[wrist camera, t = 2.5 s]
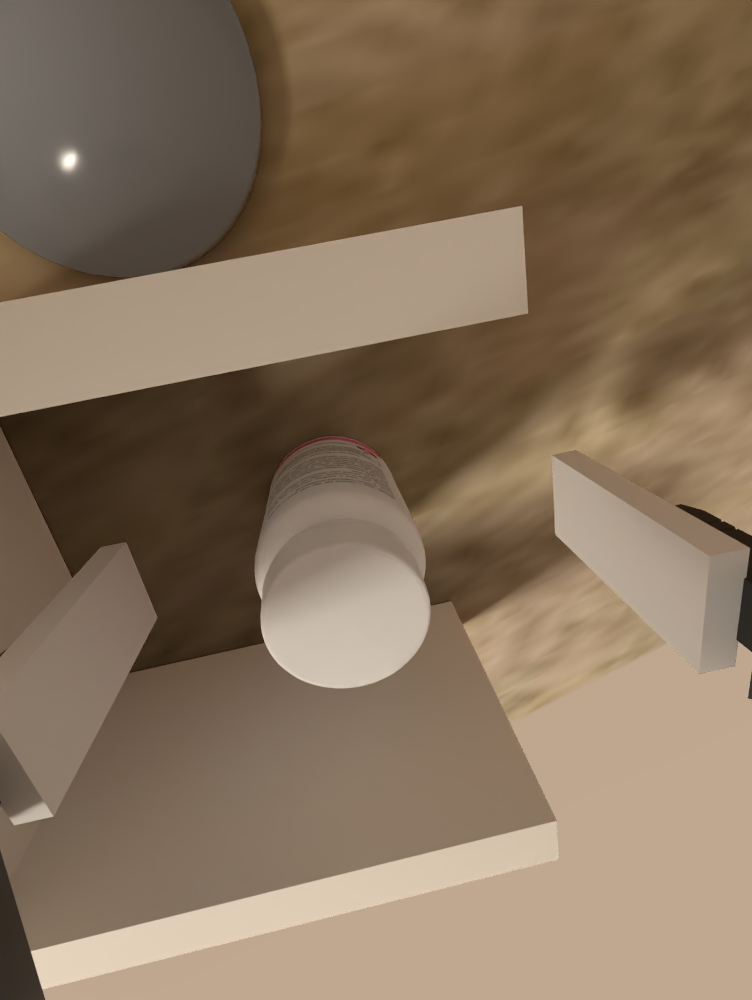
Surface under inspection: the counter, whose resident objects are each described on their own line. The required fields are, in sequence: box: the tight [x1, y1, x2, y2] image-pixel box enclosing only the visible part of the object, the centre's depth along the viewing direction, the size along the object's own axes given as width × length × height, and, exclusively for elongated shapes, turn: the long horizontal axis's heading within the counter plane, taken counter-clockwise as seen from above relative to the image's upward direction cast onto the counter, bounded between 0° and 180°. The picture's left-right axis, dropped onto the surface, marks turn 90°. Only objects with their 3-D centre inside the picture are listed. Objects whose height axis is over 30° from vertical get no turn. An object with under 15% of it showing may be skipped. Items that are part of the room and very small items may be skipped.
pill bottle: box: [255, 436, 431, 688], centre depth 15 cm, size 5×5×8 cm
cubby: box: [0, 206, 559, 990], centre depth 14 cm, size 16×15×10 cm
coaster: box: [0, 0, 262, 278], centre depth 14 cm, size 9×9×1 cm
